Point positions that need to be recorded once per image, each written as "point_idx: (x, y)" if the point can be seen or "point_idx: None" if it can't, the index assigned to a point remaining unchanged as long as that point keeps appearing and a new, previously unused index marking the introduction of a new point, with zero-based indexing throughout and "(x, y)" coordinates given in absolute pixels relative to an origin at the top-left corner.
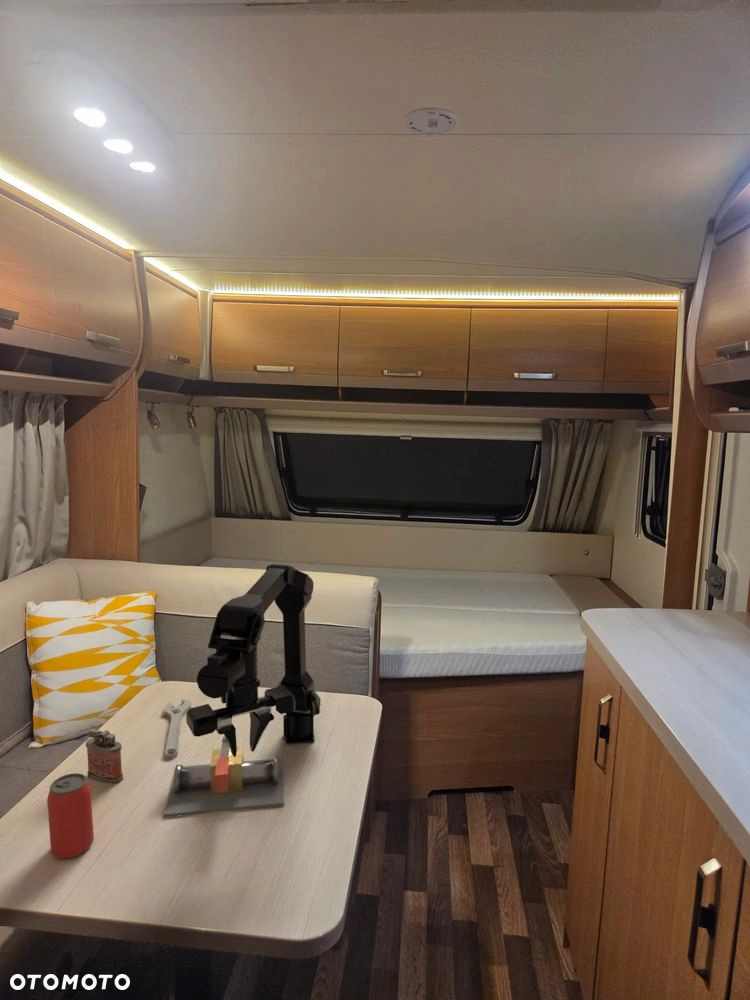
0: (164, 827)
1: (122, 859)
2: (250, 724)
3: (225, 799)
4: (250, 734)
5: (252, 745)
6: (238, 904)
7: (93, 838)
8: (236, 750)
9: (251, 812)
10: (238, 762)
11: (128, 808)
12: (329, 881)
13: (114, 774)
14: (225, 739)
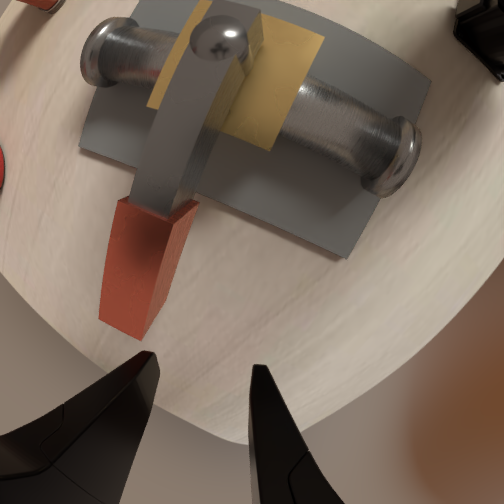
0: (80, 180)
1: (33, 230)
2: (258, 501)
3: (215, 157)
4: (252, 441)
5: (248, 423)
6: (175, 395)
7: (1, 170)
8: (148, 416)
9: (264, 234)
10: (260, 135)
11: (44, 91)
12: (297, 420)
13: (40, 7)
14: (214, 26)
